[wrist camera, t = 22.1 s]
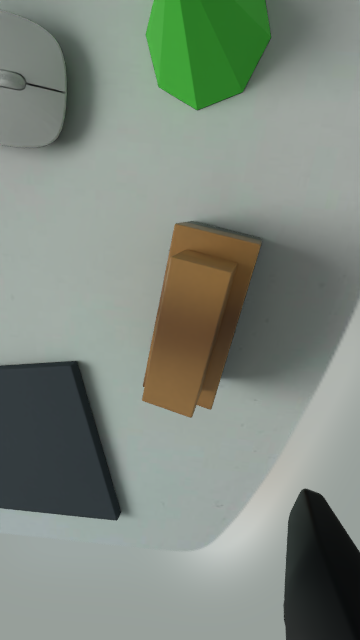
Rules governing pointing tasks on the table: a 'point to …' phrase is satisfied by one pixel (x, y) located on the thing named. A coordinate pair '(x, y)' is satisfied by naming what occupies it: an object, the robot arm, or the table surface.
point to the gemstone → (206, 47)
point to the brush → (197, 314)
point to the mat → (51, 444)
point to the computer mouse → (30, 84)
